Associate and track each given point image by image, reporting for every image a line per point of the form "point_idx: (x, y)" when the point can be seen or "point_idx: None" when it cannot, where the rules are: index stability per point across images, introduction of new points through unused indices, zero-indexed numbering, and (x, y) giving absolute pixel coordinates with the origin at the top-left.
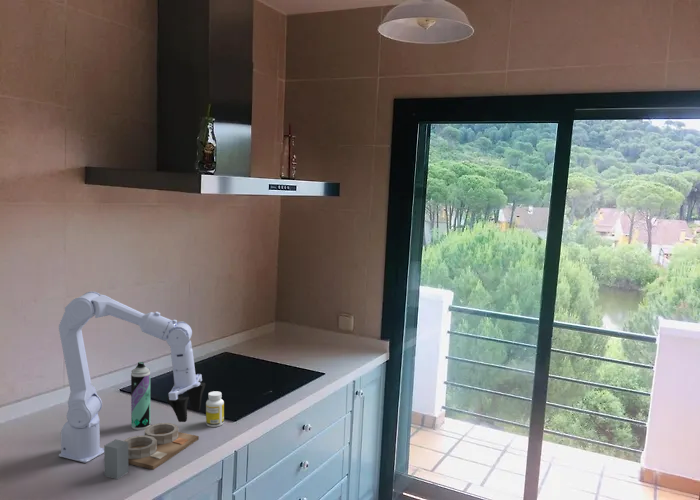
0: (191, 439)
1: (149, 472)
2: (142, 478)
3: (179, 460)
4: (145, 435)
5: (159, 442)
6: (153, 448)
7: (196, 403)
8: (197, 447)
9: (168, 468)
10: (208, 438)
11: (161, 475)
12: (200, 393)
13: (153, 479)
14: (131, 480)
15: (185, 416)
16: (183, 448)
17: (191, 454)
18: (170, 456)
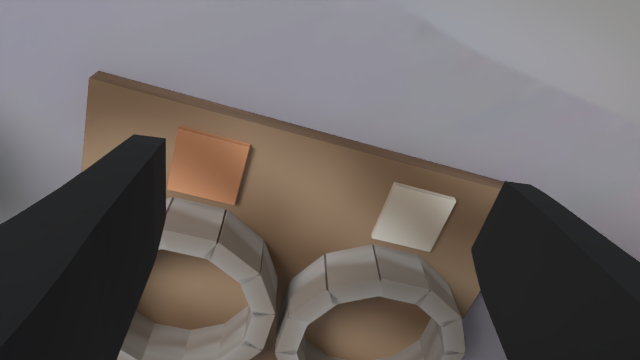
0: (158, 109)
1: (554, 195)
2: (615, 203)
3: (416, 92)
4: (276, 355)
5: (269, 265)
6: (392, 267)
7: (132, 229)
8: (219, 38)
9: (517, 119)
10: (55, 4)
11: (598, 127)
12: (34, 307)
13: (637, 150)
14: (626, 240)
15: (582, 223)
16: (269, 120)
17: (328, 45)
18: (394, 156)
